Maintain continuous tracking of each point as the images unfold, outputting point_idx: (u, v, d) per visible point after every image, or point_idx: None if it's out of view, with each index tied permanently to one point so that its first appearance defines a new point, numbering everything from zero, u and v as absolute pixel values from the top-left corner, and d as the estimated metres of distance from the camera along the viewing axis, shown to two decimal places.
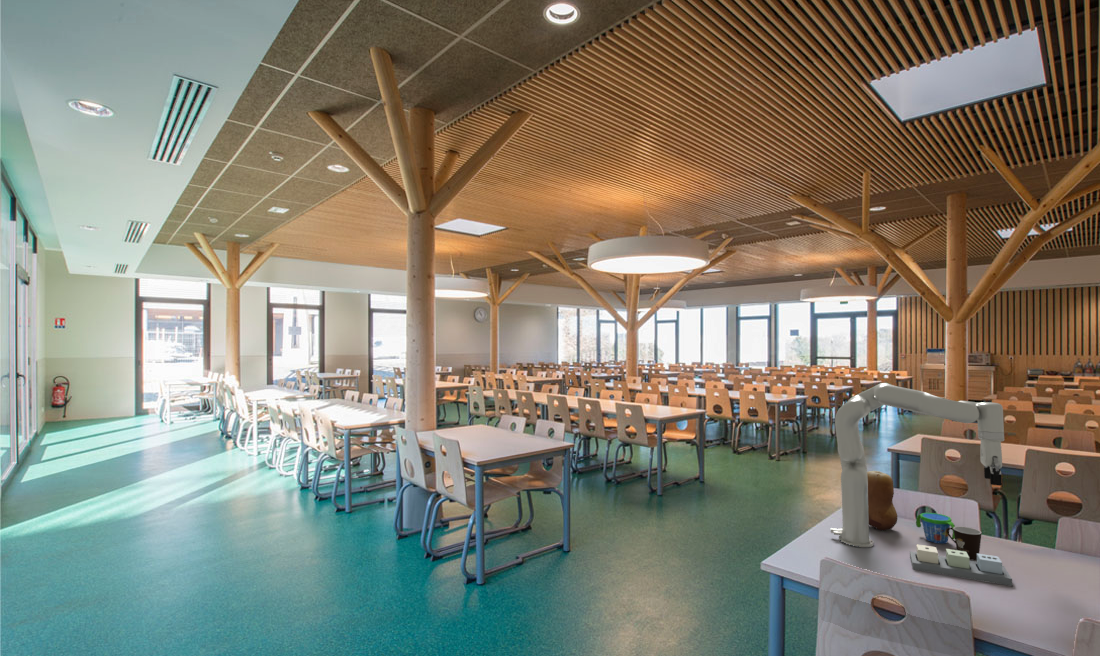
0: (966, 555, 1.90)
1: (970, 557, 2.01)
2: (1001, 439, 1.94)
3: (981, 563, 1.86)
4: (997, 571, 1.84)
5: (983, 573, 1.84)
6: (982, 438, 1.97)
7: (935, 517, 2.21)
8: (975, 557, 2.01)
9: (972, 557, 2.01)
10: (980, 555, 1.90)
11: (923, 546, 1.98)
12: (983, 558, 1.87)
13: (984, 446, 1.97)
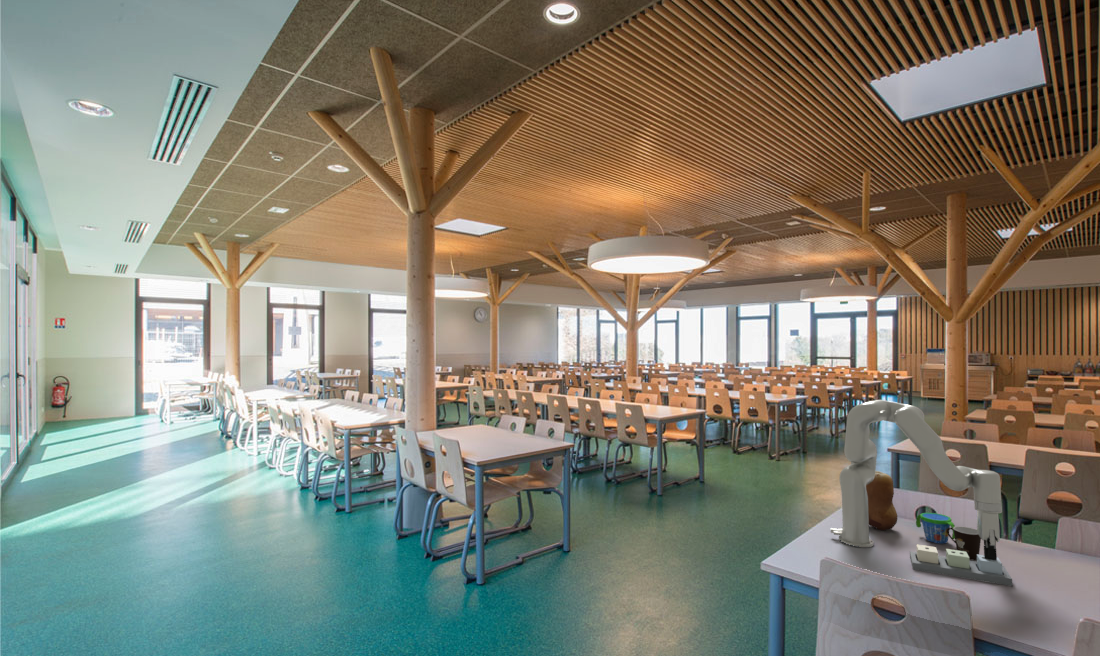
0: (966, 555, 1.90)
1: (970, 557, 2.01)
2: (998, 511, 1.84)
3: (981, 564, 1.86)
4: (997, 572, 1.84)
5: (983, 573, 1.84)
6: (979, 509, 1.87)
7: (935, 517, 2.21)
8: (975, 557, 2.01)
9: (972, 557, 2.01)
10: (980, 556, 1.90)
11: (923, 546, 1.98)
12: (983, 559, 1.87)
13: (980, 518, 1.86)
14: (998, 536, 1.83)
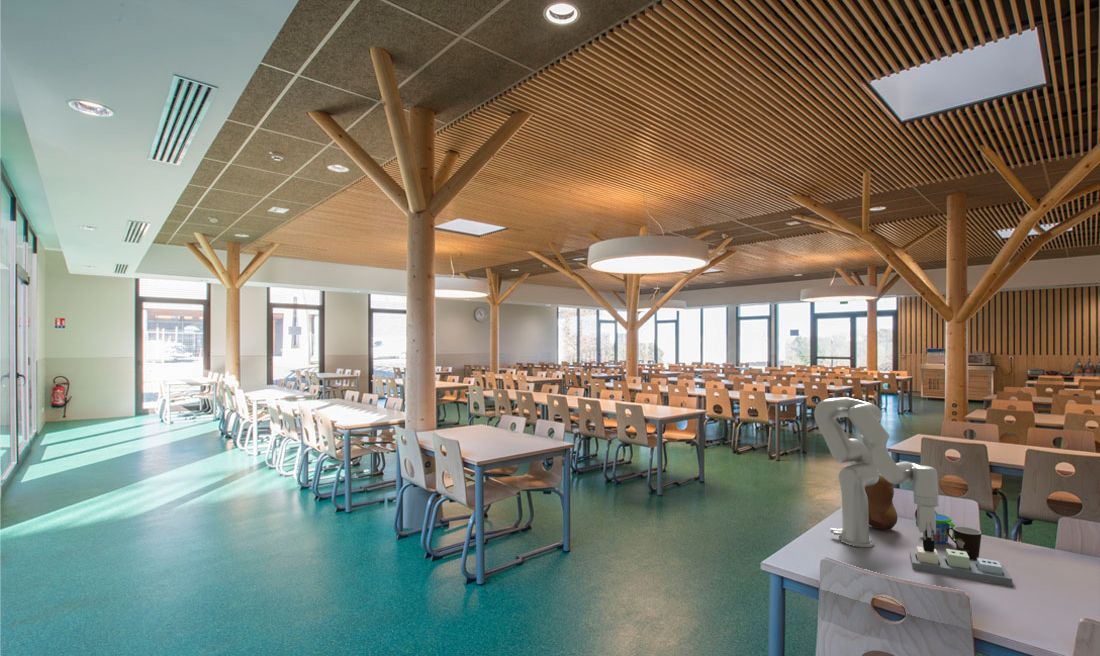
0: (966, 555, 1.90)
1: (970, 557, 2.01)
2: (935, 504, 1.93)
3: (981, 568, 1.86)
4: None
5: (983, 573, 1.84)
6: (917, 503, 1.96)
7: None
8: (975, 557, 2.01)
9: (972, 557, 2.01)
10: (980, 560, 1.90)
11: None
12: (983, 562, 1.87)
13: (919, 511, 1.95)
14: (934, 528, 1.91)
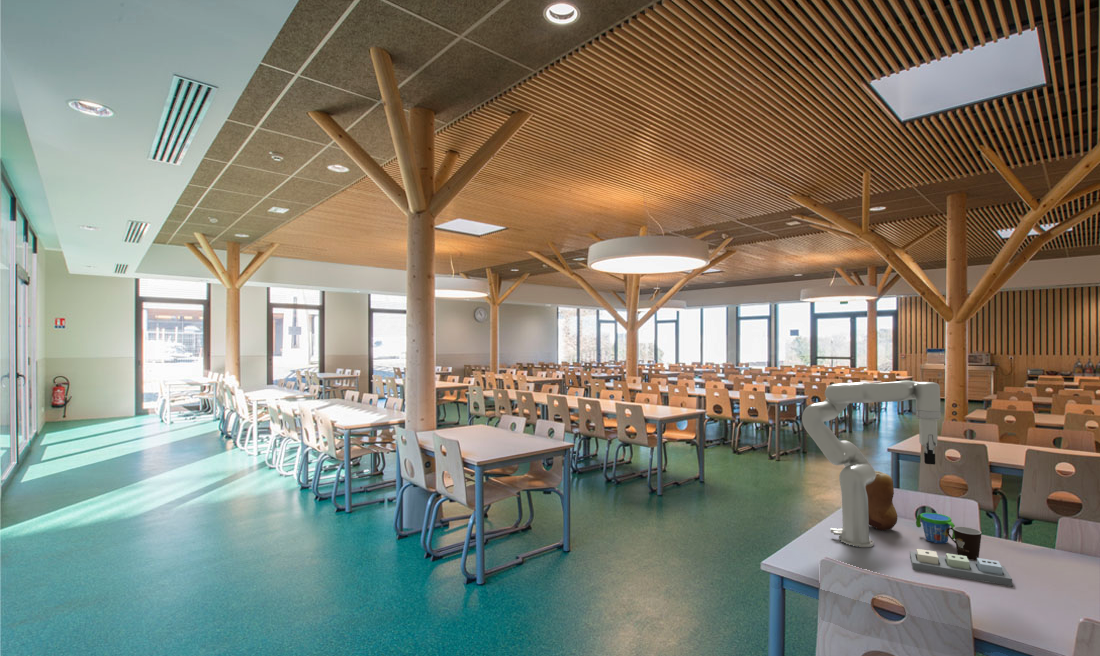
0: (966, 560, 1.90)
1: (970, 557, 2.01)
2: (937, 418, 1.97)
3: (981, 568, 1.86)
4: None
5: (983, 573, 1.84)
6: (920, 417, 2.00)
7: (935, 517, 2.21)
8: (975, 557, 2.01)
9: (972, 557, 2.01)
10: (980, 560, 1.90)
11: (923, 550, 1.98)
12: (983, 562, 1.87)
13: (921, 425, 1.99)
14: (936, 440, 1.95)
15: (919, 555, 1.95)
